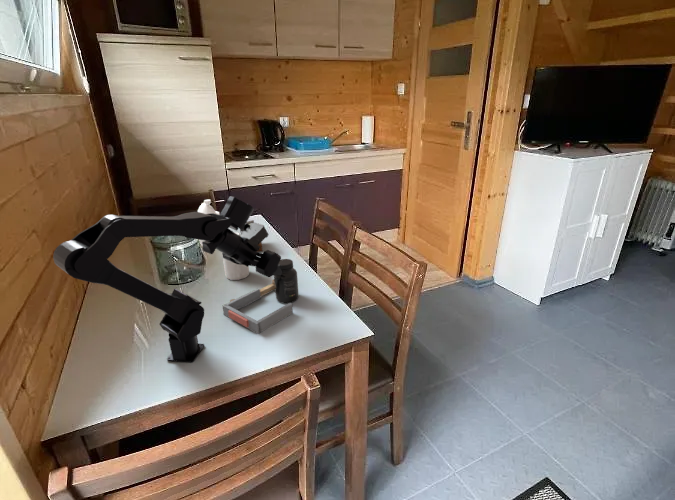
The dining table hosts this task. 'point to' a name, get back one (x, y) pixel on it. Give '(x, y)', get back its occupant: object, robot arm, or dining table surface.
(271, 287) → the rail
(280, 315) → the bay
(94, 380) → the dining table surface
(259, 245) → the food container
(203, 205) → the honey pot
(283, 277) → the supplement bottle
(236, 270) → the pill bottle
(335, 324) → the dining table surface
